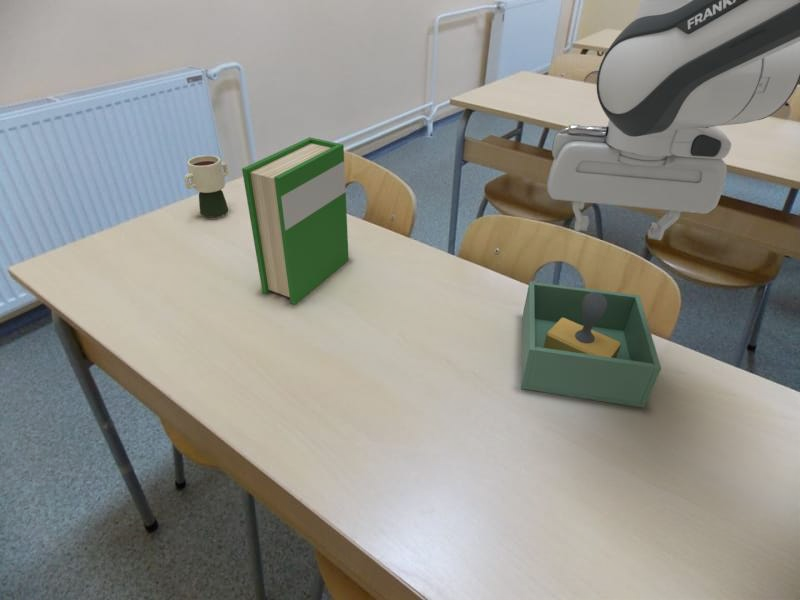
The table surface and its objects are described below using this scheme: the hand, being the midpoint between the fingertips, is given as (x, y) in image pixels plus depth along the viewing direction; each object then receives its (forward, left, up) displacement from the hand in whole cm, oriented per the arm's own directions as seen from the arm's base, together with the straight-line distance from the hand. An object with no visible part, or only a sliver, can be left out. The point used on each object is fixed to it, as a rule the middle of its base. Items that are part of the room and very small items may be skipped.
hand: (616, 233), depth 69 cm
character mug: (+80, -33, -23) cm, 90 cm away
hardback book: (+50, -13, -23) cm, 57 cm away
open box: (0, 0, -23) cm, 23 cm away
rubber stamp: (0, 0, -22) cm, 22 cm away
